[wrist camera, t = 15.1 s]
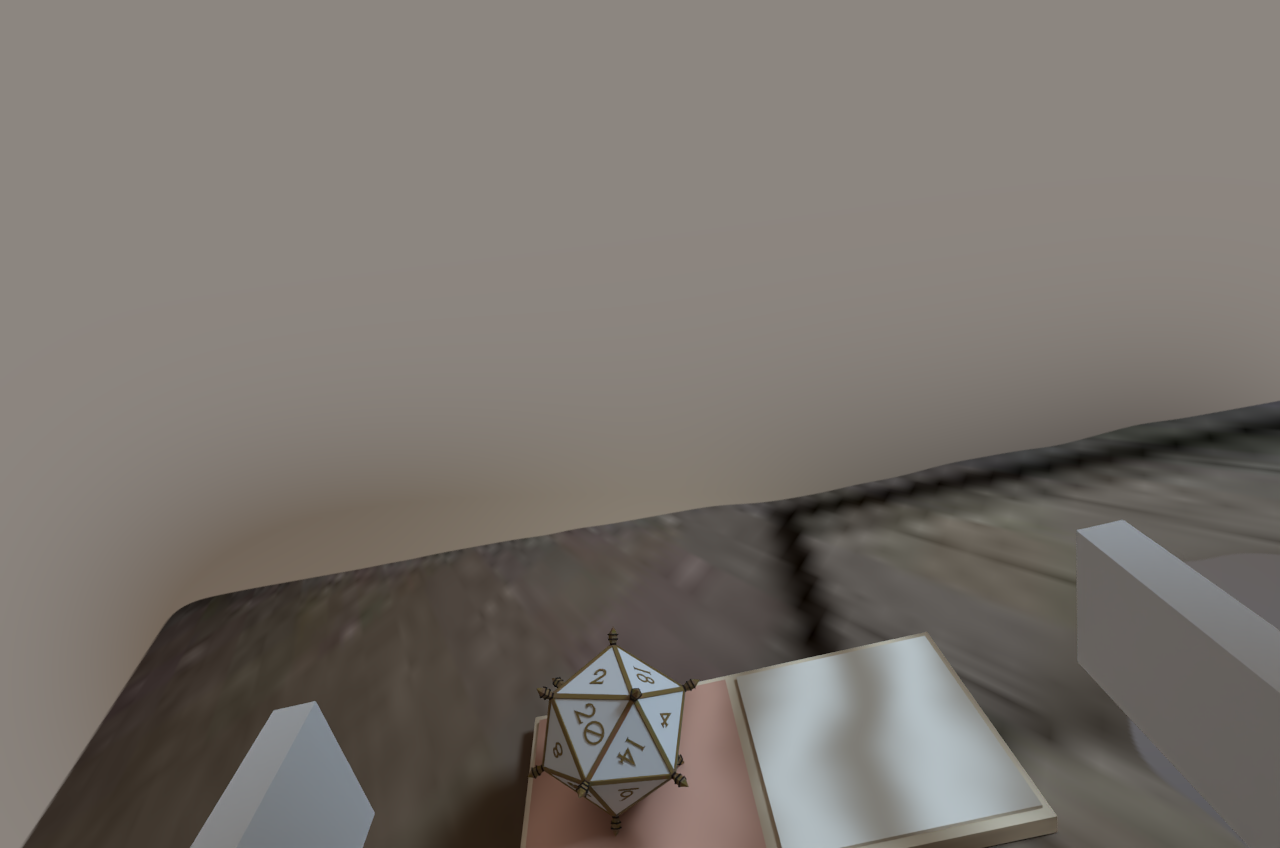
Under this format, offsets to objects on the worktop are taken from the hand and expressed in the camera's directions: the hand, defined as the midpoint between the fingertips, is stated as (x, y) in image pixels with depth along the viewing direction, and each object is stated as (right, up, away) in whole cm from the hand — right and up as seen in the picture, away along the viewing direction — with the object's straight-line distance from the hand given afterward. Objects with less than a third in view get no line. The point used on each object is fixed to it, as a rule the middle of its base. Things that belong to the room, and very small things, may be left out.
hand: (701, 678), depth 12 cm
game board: (+5, -14, +25) cm, 30 cm away
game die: (-1, -15, +25) cm, 29 cm away
